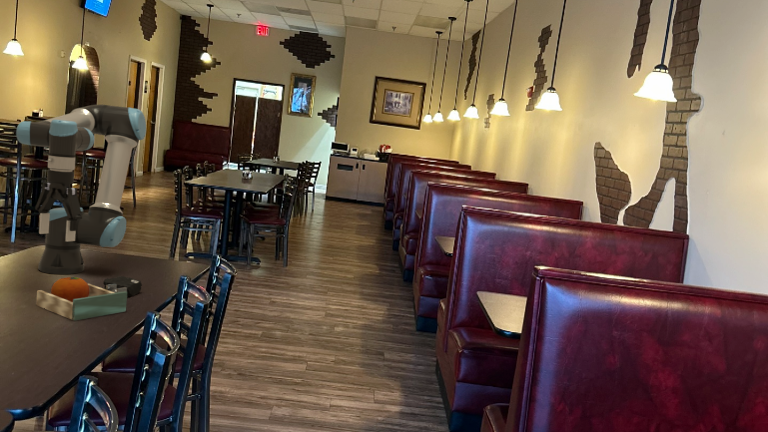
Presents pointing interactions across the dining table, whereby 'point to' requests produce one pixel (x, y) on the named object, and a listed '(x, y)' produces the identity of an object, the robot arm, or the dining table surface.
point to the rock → (125, 284)
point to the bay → (84, 303)
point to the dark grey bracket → (113, 288)
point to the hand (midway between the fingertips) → (56, 237)
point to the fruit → (70, 288)
